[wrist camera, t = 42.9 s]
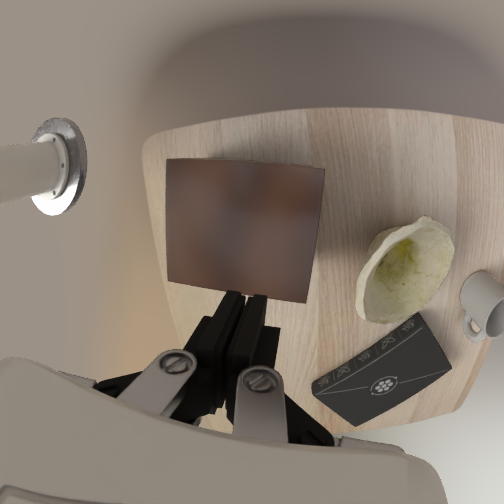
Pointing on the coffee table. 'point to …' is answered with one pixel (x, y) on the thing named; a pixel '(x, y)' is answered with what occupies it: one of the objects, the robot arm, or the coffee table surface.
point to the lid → (242, 226)
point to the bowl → (403, 270)
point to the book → (384, 373)
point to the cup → (483, 306)
